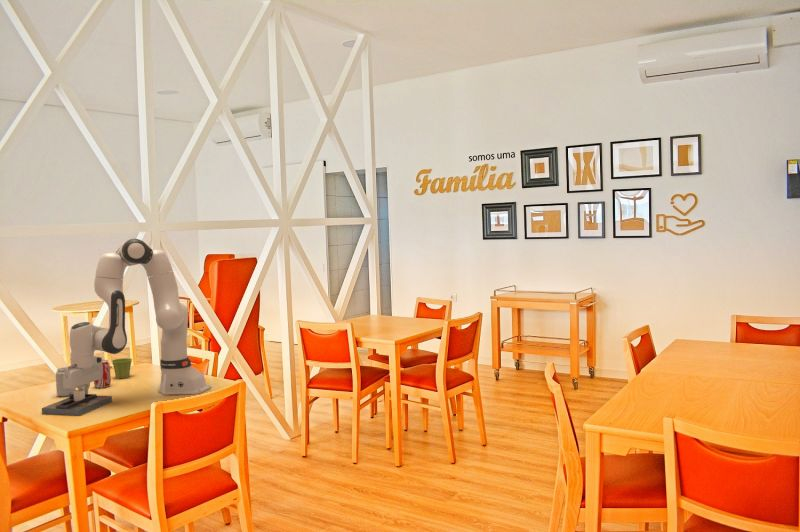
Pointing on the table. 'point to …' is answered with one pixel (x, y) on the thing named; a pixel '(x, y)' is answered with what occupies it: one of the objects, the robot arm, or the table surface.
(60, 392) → the can
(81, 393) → the fader
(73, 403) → the console
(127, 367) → the plant pot
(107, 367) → the soda can
